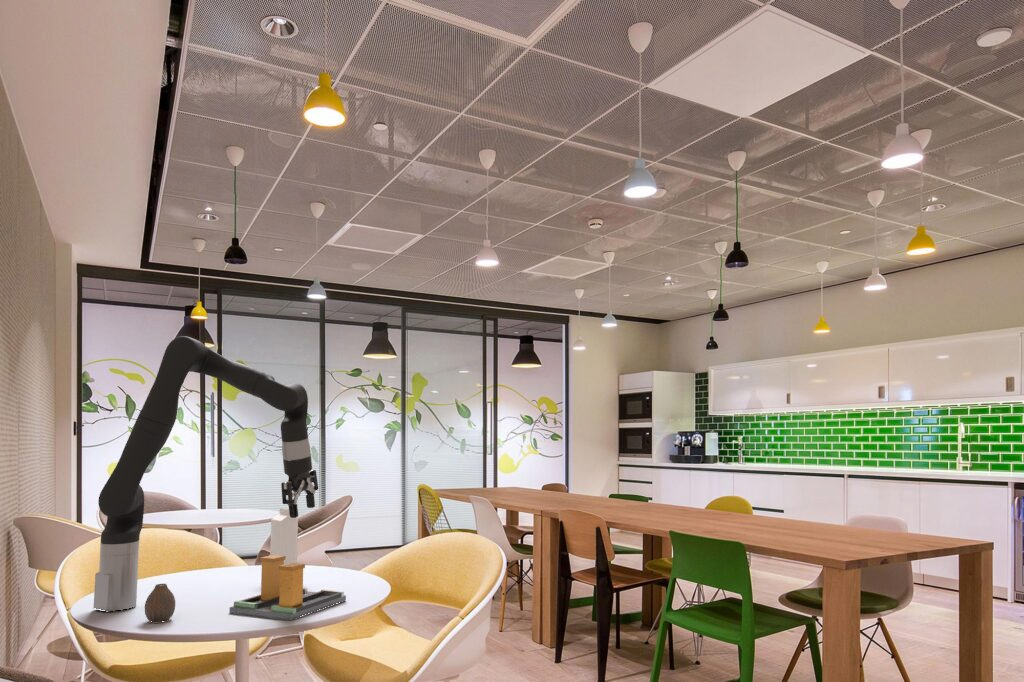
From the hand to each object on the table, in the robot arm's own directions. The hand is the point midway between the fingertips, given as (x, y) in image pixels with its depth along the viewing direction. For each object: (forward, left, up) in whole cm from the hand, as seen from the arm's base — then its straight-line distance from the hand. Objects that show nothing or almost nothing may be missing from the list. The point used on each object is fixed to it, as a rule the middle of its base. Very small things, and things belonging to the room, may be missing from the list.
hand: (302, 512), depth 206 cm
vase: (-32, +15, -24) cm, 43 cm away
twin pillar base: (-8, -3, -24) cm, 25 cm away
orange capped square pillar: (-8, +3, -22) cm, 24 cm away
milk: (+16, +23, -24) cm, 37 cm away
